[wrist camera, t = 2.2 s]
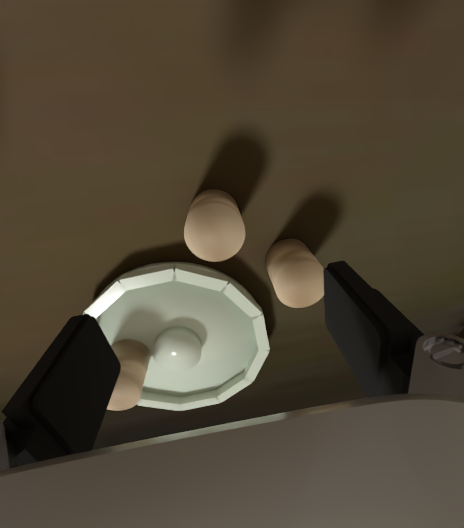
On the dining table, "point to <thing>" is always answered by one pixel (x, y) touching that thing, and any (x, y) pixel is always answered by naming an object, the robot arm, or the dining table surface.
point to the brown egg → (295, 273)
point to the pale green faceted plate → (186, 331)
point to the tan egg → (214, 226)
